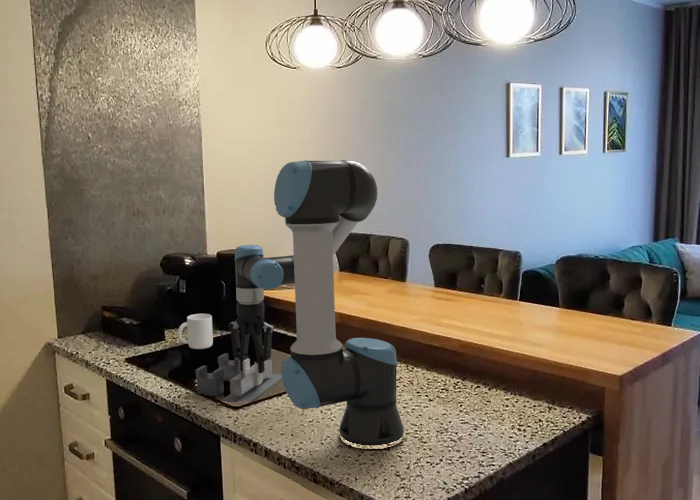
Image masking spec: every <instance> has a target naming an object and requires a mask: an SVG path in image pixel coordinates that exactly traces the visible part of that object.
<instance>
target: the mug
mask: <svg viewBox="0 0 700 500" xmlns="http://www.w3.org/2000/svg"><path fill="white" fill-rule="evenodd" d="M185 328H187V339H185V338H183V336H182V335H183V333H182V332H183V330H184V329H185ZM213 336H214V335H213V316H212V315H211V314H209V313H196V314H195V313H194V314H190V315H188V316H187V317H186V321H185V322H183V323H181V325H179V327H178V329H177V338H178V340H179V342H180V343H182V344H188V347H189V348H190V349H192V350H204V349H205V350H206V349H208V348H211V347H212V346H213V343H214V337H213Z"/></svg>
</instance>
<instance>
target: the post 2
mask: <svg viewBox="0 0 700 500" xmlns="http://www.w3.org/2000/svg"><path fill="white" fill-rule="evenodd" d="M217 364H218V368H224V375H223V382H229V383H230V379H233V378H234V377H236V376H237V375H239V374H240V373H242V372H243V371H241V370H240V360H239V359H238V358H234V359H233V360H230V359H229V353H226V352H225V353H223V354H221V355H219V356H217Z"/></svg>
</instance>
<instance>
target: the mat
mask: <svg viewBox="0 0 700 500" xmlns="http://www.w3.org/2000/svg"><path fill="white" fill-rule="evenodd" d="M281 381H283V380H282V374H278V373H272V374H270V375H269V376H267V377H266V378H265V379H263V380H262V383H261V384H259V385H255V386H254V387H252V388H251V389H249V390H248V391H247V392H245V393H244V394H242V395H241V396H237V395H230V393H229V394H228V395H226V396H225V397H224V398H222V399H221V400H220V401H227V402H238V401H244V400H246V401H247V400H248V401H252V400H254V399H255V400H257V399H258V398H259V397H261V396H262V395H264V392H265V393H266V392H267V391H268V390H270V389H271V388H273V387H274V386H275V385H276V384H278V383H279V382H281ZM260 395H261V396H260ZM257 397H258V398H257ZM256 398H257V399H256ZM255 400H254V401H255Z"/></svg>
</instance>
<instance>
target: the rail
mask: <svg viewBox="0 0 700 500" xmlns="http://www.w3.org/2000/svg"><path fill="white" fill-rule="evenodd" d="M264 369H265V370H264V372H263V373H262V380H263V379H265V378H266V377H267V376H269V375H270V374H274V358H270V359H268V360H267V361H264ZM254 386H255V363H254V364H253V365H250V368H248V369H246V370H245V371H243V372H242V373H240V374H239V375H237V376H236V377H234V378H233V379H230V382H229V392H230V393H229V394H230V395H237V396H241V395H242V394H244V393H245V392H247V391H248V390H249V389H251V388H252V387H254Z"/></svg>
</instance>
